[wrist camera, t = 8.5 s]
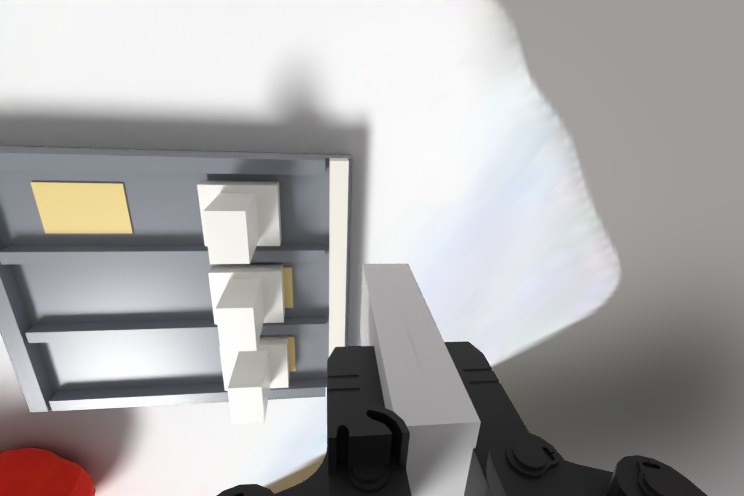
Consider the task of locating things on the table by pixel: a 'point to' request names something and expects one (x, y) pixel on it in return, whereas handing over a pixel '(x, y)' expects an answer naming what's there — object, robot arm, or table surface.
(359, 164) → the table surface
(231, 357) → the tab
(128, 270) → the switch bank
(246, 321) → the tab
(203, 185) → the tab
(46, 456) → the tomato
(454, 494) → the robot arm
